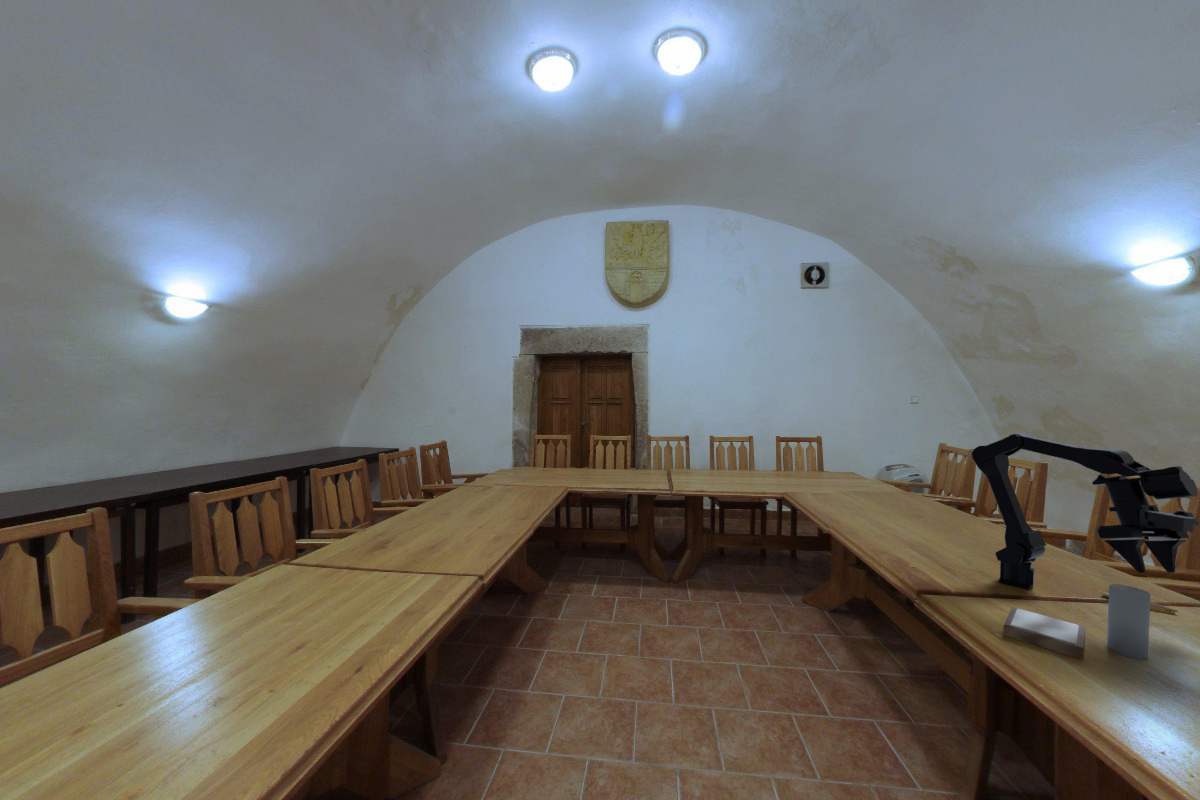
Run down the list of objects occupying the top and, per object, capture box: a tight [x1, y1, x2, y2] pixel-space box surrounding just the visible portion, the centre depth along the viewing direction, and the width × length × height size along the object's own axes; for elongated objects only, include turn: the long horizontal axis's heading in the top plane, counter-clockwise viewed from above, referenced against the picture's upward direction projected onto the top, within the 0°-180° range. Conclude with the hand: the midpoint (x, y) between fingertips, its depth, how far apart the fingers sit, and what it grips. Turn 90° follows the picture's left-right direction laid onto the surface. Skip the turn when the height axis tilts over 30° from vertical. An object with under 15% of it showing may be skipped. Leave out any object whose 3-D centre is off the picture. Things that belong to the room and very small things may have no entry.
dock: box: [1003, 606, 1086, 661], centre depth 99 cm, size 12×12×3 cm
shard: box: [1100, 590, 1179, 615], centre depth 114 cm, size 11×8×2 cm
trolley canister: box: [1106, 583, 1152, 660], centre depth 94 cm, size 6×6×13 cm
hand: (1156, 572), depth 101 cm, fingers open, 9 cm apart
